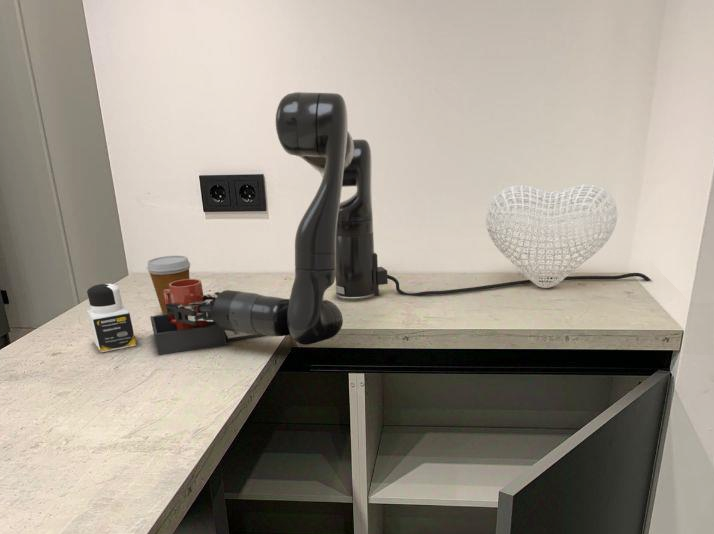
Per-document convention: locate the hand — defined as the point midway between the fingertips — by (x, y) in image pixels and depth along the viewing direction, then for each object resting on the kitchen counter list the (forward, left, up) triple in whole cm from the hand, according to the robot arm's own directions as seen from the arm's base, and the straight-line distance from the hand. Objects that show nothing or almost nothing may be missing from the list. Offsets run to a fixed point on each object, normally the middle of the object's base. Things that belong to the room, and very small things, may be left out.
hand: (180, 304), depth 146 cm
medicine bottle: (+14, -3, -8) cm, 16 cm away
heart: (-82, +1, -8) cm, 82 cm away
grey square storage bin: (-1, +1, -7) cm, 7 cm away
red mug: (-1, +1, -7) cm, 7 cm away
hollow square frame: (-14, 0, -7) cm, 15 cm away
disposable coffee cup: (0, -20, -8) cm, 22 cm away
